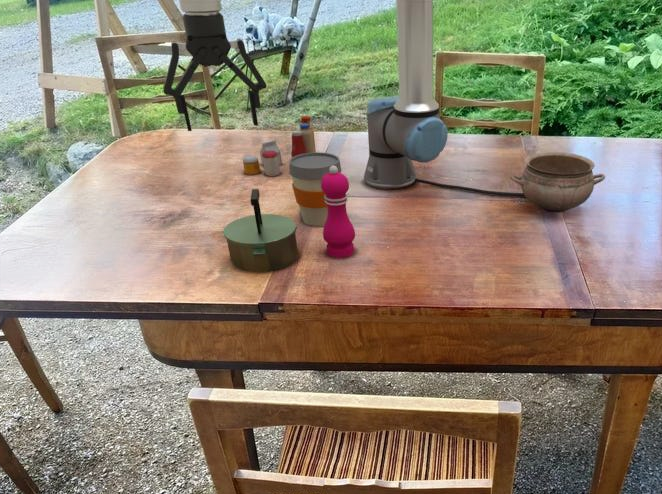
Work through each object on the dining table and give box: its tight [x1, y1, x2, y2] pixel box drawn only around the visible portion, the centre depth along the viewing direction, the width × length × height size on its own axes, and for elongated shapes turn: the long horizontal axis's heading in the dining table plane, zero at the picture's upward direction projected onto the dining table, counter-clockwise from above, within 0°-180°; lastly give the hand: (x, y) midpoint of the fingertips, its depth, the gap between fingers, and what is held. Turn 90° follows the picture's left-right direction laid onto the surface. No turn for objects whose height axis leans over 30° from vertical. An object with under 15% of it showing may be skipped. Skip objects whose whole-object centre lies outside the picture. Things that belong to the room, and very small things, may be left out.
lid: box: [223, 188, 298, 246], centre depth 130 cm, size 16×16×9 cm
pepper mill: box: [321, 166, 356, 259], centre depth 133 cm, size 7×7×20 cm
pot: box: [226, 232, 299, 273], centre depth 135 cm, size 15×20×6 cm
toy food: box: [242, 115, 317, 177], centre depth 184 cm, size 27×13×12 cm, turn 136°
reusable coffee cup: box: [288, 151, 342, 227], centre depth 150 cm, size 13×13×15 cm
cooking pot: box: [509, 151, 606, 214], centre depth 158 cm, size 25×19×12 cm
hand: (223, 126), depth 129 cm, fingers open, 13 cm apart
